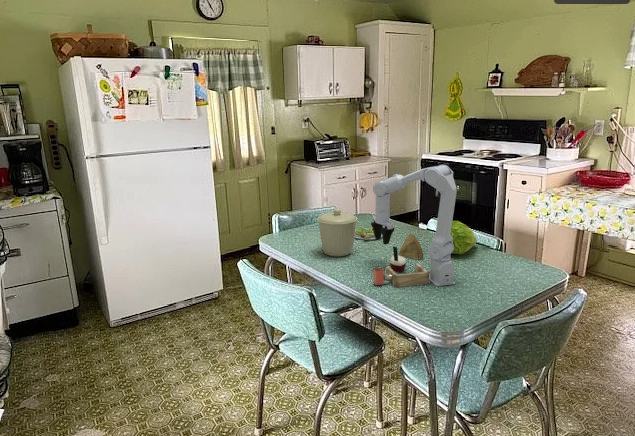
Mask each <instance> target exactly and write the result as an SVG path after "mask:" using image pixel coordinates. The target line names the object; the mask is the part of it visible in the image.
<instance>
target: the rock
mask: <svg viewBox="0 0 635 436" xmlns="http://www.w3.org/2000/svg"><path fill="white" fill-rule="evenodd" d="M398 255H399V256H402V257H404V258H408V259H413V260H414V259H415V260H419V261H420V260H424V252H423V248H422V245H421V243H420V242H419V240H418V239H417V238H416V236H415V235H414V234H412V233H409V234H408V236H407V237H406V239H404V242H403V243H402V246H401V247H400V250H399V251H398Z"/></svg>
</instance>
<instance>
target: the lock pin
mask: <svg viewBox="0 0 635 436" xmlns="http://www.w3.org/2000/svg"><path fill="white" fill-rule="evenodd" d="M384 273H385V270H384V269H383V268H382V267H379V268H378V267H377V268H373V277H372V279H373V283H374V284H375V285H376V286H378V285H379V286H380V285H384V284H385V283H384V282H385V281H387V280H388V279H393V274H390V275H386V274H384ZM396 274H397V275H399V274H403V273H402V272H399V273H396ZM388 281H389V280H388Z"/></svg>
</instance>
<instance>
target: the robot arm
mask: <svg viewBox="0 0 635 436" xmlns="http://www.w3.org/2000/svg"><path fill="white" fill-rule="evenodd" d="M419 180H421V181H422V182H426V183H427V184H428V185H429V186H431V187H433V188H434V189H436V190H437V191H438V192H439V193H440V198H439V207H438V213H437V220H436V228H435V229H436V230H435V234H434V236H433V237H432V240H431V243H430V245H429V246H428V249H427V254H428V256H429V258H430V268H429V269H430V271H429V282H431V283H432V284H433V285H435V286H436V287H439V286H440V287H441V286H449V285H455V284H456V281H454V278H455V267H454V266H453V264H452V261H451V253H452V252H453V250H454V245H453V237H452V236H451V235H450V233H451V226H452V221H454V220H453V219H454V213H455V205H456V199H457V190H458V189H457V186H456V181H455V179H454V171H453V170H452V169H451V168H450V167H449V166H448V165H446V164H439V165H435V166H430V167H425V168H421V169H419V170H416V171H414V172H411V173H409V174H406V175H403V174H398V173H395V174H393V175H392V176H391V177H385V178H383V180H381V181H380V180H379V181H377V182H375V183H374V184H373V186H372V191H373V193H374V195H375V215H373V216H372V221H373V222H370V226H372V228H373V230H374V234H375V238H376V239H377V240H380V239H381V233H382V243H383V245H389V243H390V241H391V238H392V235H393V233H394V231H395V228H394V227H393V226H394V225H393V223H392V222H393V221H392V220H393V219H391V218H390V208H391V205H390V204H391V203H390V202H391V201H390V200H391V194H392V193H394V192H398V191H400V190H403V189H405V188H406V186H407V184H410V183H413V182H417V181H419Z"/></svg>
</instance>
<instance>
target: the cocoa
mask: <svg viewBox="0 0 635 436" xmlns="http://www.w3.org/2000/svg"><path fill="white" fill-rule="evenodd" d="M392 251H393V255H392V256H391V257H390V258H389V262H390V263H389V264H390V266H389V267H390V268H391V269H392V270H393V271H394V272H395V273H402V272H403V271H405V269H406V264H407V260H406V257H403V256H401V255H398V254H399V251H398V247H396V246H392Z"/></svg>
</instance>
